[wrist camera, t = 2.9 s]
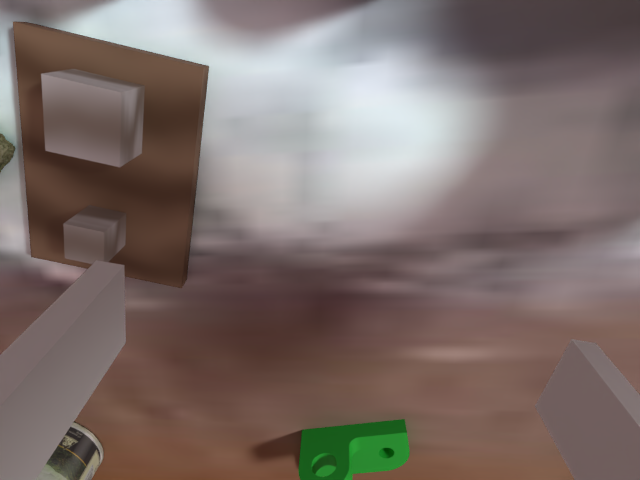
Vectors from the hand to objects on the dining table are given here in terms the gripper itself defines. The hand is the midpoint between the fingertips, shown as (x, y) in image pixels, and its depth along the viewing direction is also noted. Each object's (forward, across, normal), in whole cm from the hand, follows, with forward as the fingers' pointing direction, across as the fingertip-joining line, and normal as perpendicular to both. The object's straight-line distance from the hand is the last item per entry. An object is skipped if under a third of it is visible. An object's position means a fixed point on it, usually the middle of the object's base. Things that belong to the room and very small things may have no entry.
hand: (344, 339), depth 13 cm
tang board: (+26, -18, -6) cm, 32 cm away
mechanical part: (+26, +9, -35) cm, 45 cm away
